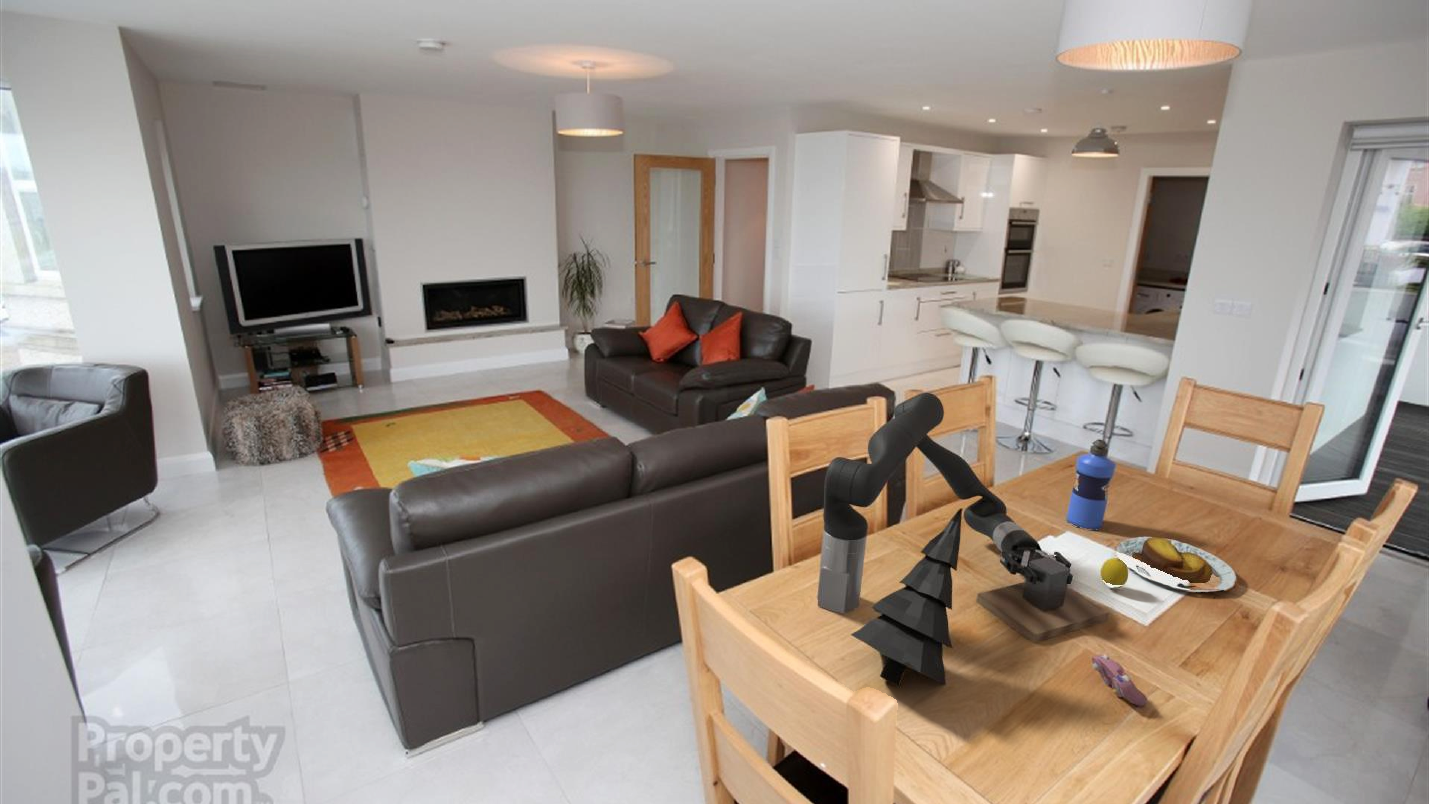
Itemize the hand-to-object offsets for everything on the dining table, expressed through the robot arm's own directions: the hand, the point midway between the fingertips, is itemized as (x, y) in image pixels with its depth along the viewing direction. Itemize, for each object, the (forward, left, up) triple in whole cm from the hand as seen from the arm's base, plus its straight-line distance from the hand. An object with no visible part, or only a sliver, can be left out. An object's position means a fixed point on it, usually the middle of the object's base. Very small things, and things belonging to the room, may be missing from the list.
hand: (1052, 580), depth 147 cm
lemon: (+22, -12, -9) cm, 26 cm away
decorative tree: (-33, +20, -9) cm, 40 cm away
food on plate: (+41, -25, -9) cm, 49 cm away
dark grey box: (+2, +1, -6) cm, 7 cm away
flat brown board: (+2, +1, -9) cm, 9 cm away
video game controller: (-19, -14, -9) cm, 25 cm away
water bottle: (+58, -4, -9) cm, 59 cm away
